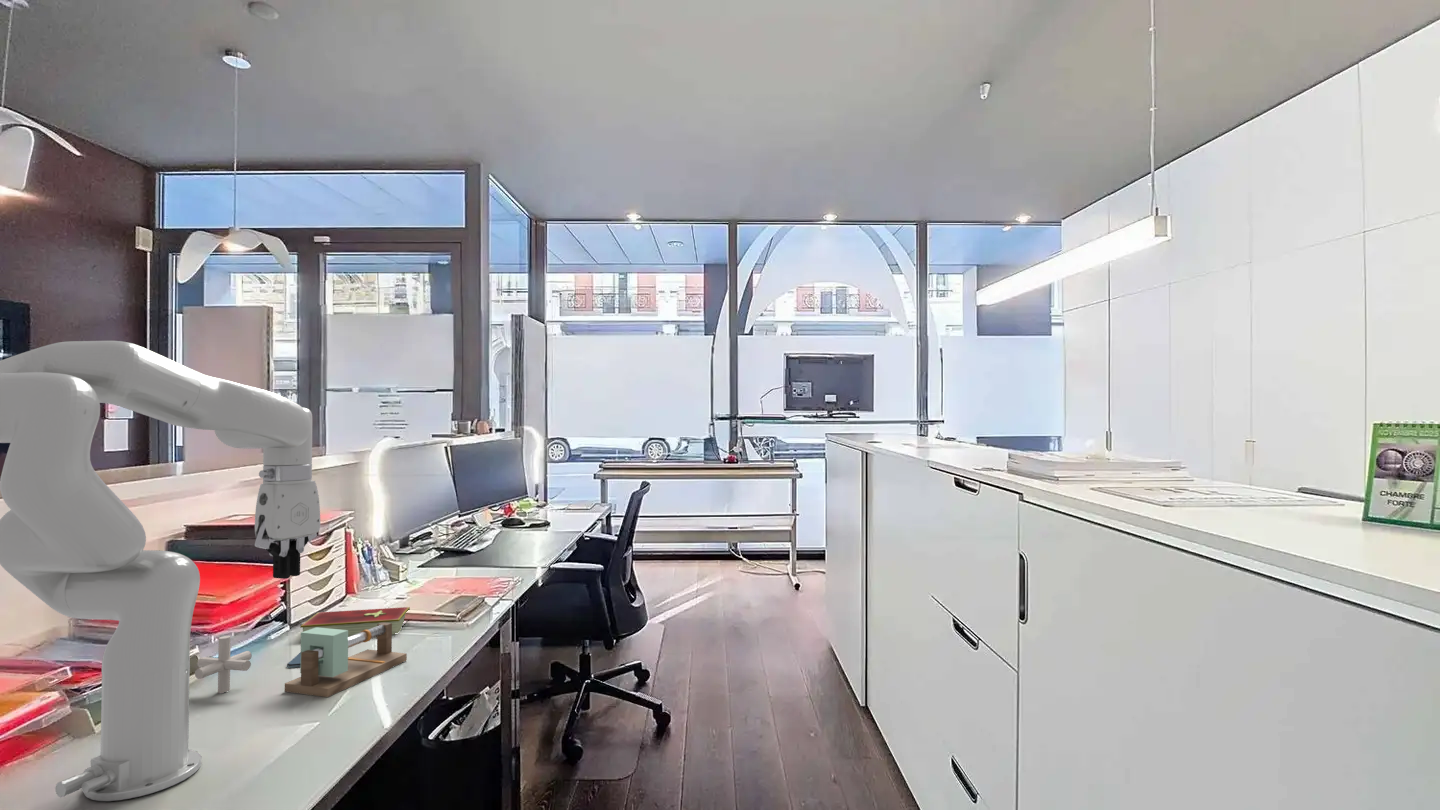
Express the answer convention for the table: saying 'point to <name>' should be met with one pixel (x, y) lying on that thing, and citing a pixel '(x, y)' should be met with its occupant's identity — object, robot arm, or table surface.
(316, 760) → the table surface
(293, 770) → the table surface
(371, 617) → the hardcover book
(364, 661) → the rod stand
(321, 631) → the collar
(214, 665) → the pipe connector
